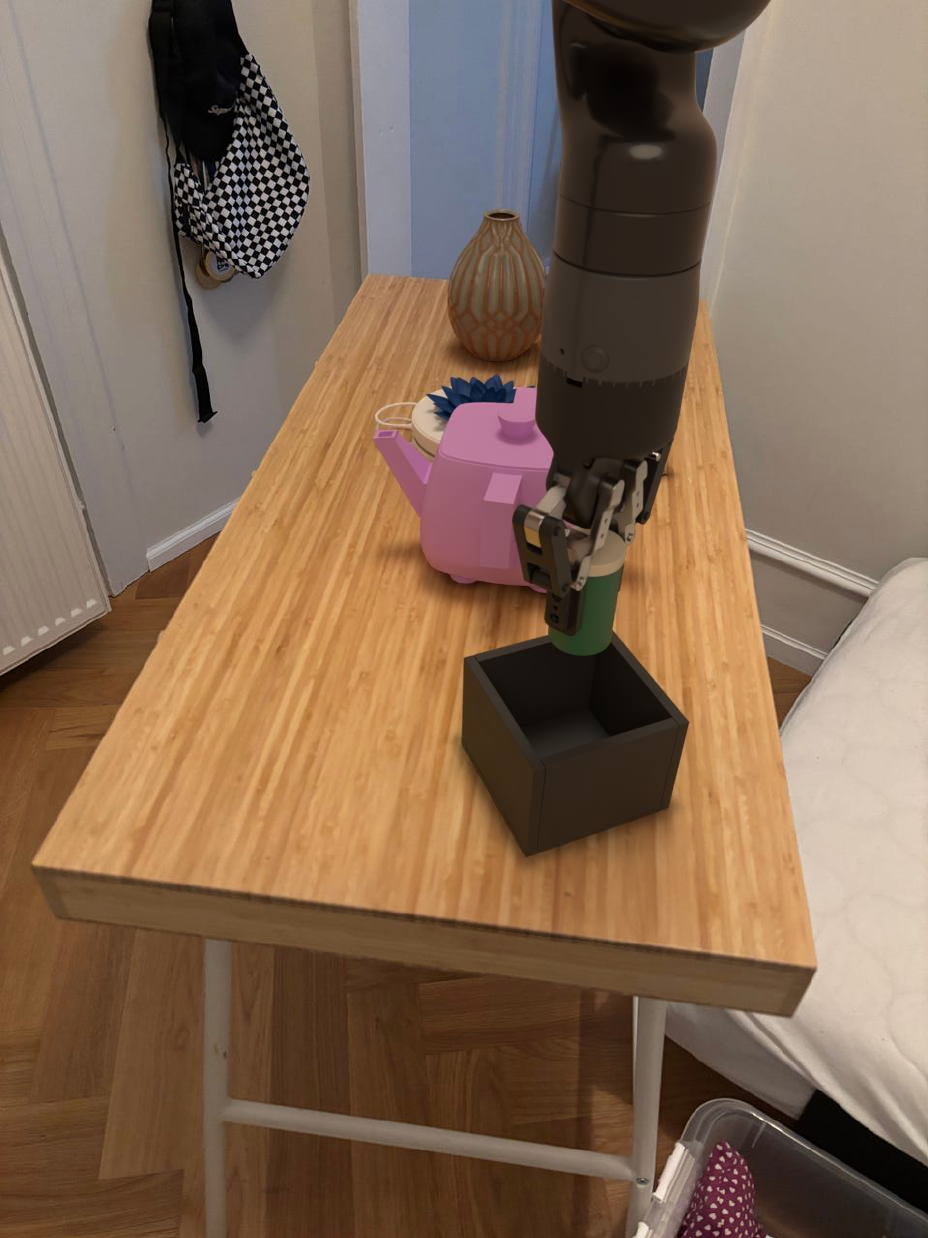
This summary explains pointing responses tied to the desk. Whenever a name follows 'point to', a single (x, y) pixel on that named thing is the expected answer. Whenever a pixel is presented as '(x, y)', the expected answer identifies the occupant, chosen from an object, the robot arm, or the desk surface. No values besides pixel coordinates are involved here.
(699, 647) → the desk surface
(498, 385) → the lotus flower trinket box
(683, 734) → the bin
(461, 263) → the vase
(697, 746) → the desk surface
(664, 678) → the desk surface
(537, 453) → the teapot
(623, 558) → the tube
